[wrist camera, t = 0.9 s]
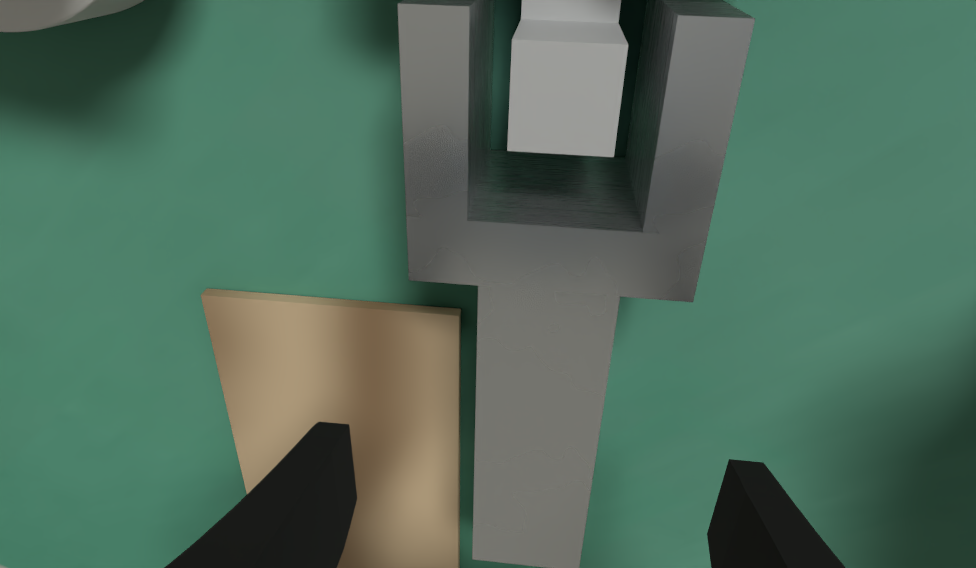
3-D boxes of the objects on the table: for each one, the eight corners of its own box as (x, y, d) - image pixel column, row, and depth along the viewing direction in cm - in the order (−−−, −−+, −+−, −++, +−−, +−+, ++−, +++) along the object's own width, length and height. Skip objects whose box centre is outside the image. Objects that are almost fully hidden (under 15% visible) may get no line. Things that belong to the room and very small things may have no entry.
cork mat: (460, 308, 19) (459, 316, 19) (459, 639, 28) (457, 648, 28) (207, 288, 20) (200, 295, 20) (281, 617, 29) (277, 626, 28)
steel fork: (705, -10, 14) (754, 18, 11) (621, 458, 22) (632, 577, 18) (441, -20, 15) (397, 3, 11) (445, 441, 22) (420, 553, 18)
